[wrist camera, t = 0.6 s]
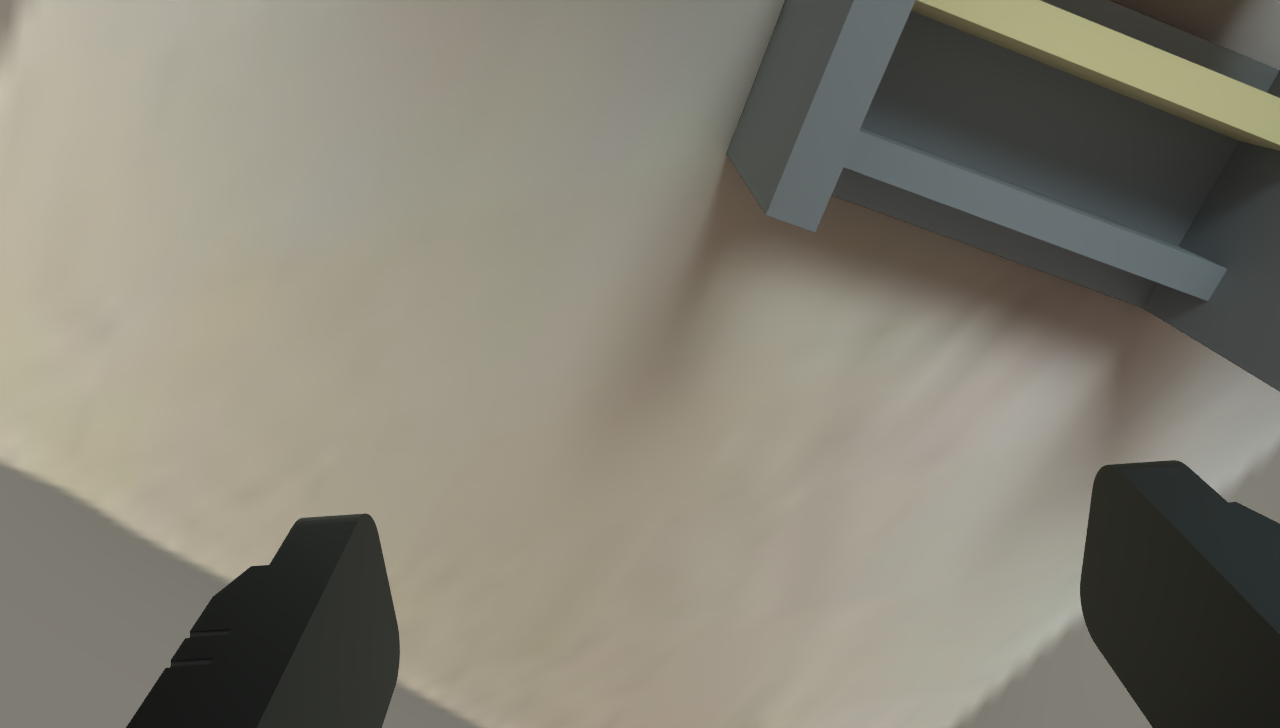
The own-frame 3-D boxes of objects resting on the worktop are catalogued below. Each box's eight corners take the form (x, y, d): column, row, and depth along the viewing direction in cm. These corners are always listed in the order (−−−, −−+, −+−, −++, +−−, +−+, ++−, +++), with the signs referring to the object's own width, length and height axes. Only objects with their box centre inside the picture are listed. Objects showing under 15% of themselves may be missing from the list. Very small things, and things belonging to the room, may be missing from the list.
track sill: (828, -110, 31) (916, -154, 21) (1295, 82, 33) (1555, 117, 24) (726, 153, 34) (765, 215, 25) (1160, 311, 36) (1346, 421, 27)
